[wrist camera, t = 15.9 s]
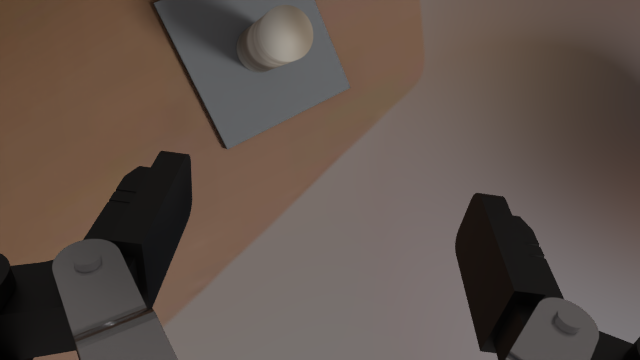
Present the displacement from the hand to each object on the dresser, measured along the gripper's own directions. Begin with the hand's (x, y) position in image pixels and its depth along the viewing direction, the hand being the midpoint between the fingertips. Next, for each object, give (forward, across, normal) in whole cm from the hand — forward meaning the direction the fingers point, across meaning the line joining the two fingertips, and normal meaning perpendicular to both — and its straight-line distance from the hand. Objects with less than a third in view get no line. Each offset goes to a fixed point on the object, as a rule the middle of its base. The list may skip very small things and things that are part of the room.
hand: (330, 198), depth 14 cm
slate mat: (+39, -7, -12) cm, 41 cm away
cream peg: (+38, -7, -12) cm, 41 cm away
